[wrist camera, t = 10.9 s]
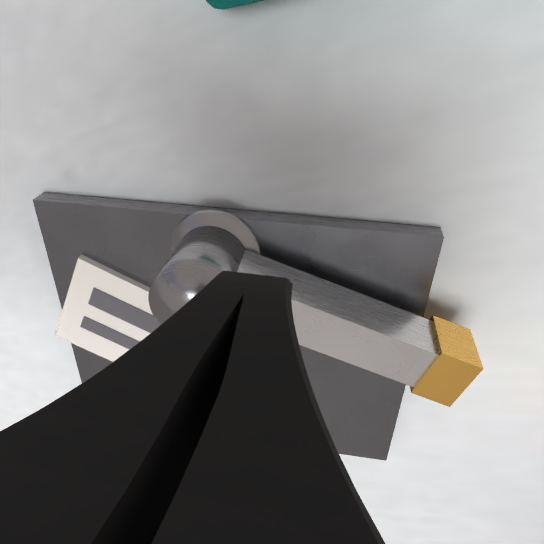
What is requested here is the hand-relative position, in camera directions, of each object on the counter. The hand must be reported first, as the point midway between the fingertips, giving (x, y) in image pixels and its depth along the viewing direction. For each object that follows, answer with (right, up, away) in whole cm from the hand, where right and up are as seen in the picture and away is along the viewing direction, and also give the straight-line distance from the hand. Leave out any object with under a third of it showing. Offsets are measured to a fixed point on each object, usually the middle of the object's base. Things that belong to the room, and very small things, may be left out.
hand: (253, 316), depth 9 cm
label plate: (-6, -1, +13) cm, 14 cm away
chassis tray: (-1, -2, +13) cm, 13 cm away
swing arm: (+2, 0, +9) cm, 10 cm away
